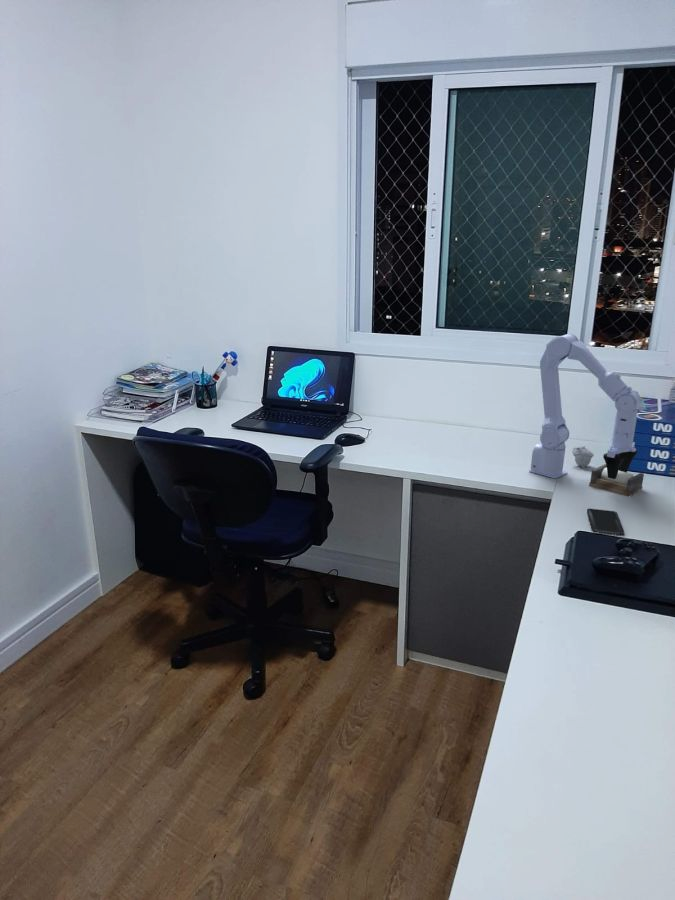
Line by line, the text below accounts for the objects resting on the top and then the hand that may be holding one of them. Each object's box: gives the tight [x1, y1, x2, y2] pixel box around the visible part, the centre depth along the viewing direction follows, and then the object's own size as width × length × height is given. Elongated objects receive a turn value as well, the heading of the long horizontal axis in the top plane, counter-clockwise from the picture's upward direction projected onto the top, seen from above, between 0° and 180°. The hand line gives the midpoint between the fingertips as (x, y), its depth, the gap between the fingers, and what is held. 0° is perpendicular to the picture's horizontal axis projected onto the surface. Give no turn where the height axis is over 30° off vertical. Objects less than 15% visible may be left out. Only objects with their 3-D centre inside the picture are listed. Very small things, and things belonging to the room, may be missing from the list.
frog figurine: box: [572, 444, 594, 467], centre depth 221 cm, size 6×7×7 cm
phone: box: [586, 508, 625, 536], centre depth 176 cm, size 8×1×15 cm
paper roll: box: [601, 467, 635, 485], centre depth 201 cm, size 8×4×4 cm, turn 43°
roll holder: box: [588, 463, 645, 497], centre depth 202 cm, size 12×9×5 cm
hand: (617, 475), depth 201 cm, fingers open, 7 cm apart
